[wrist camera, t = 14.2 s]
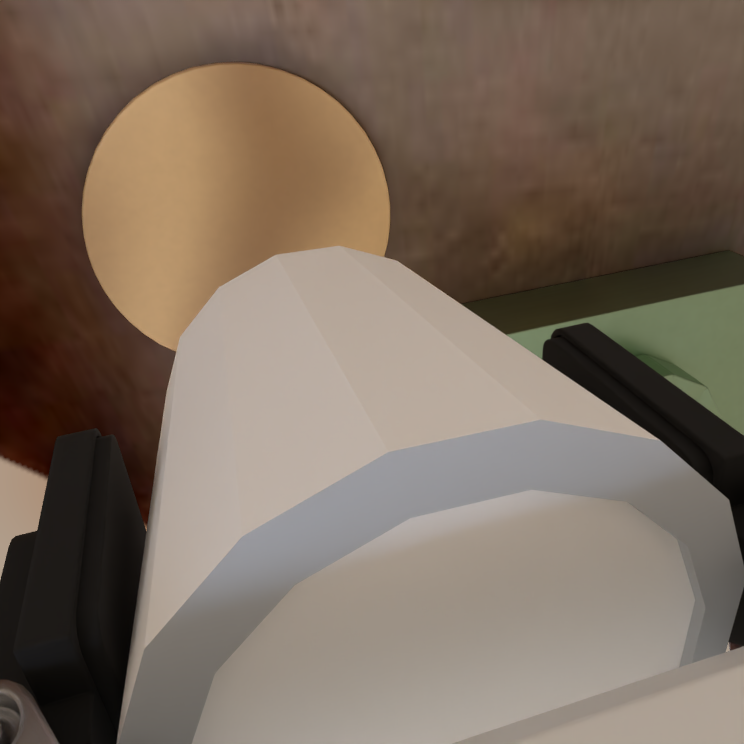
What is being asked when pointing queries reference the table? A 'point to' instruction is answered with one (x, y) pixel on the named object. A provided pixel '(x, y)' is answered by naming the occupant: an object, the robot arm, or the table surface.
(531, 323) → the green rectangular block
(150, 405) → the table surface
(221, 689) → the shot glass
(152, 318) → the coaster
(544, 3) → the table surface
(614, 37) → the table surface
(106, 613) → the robot arm
